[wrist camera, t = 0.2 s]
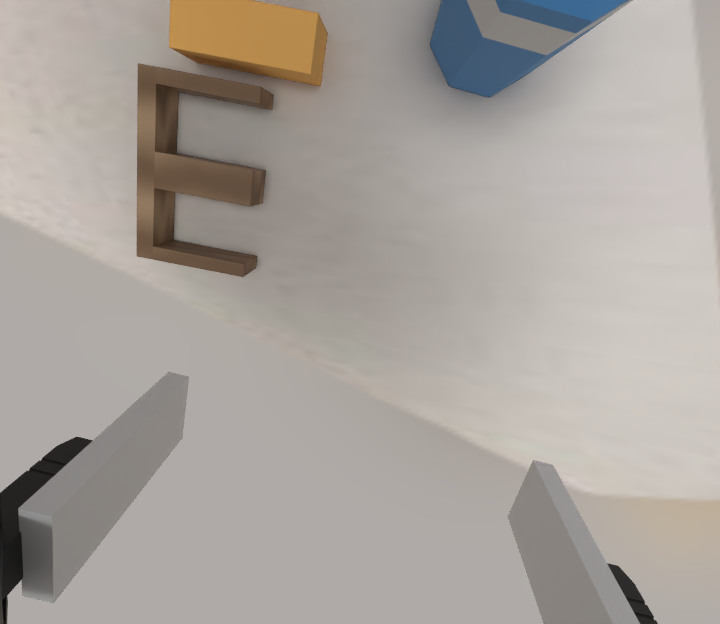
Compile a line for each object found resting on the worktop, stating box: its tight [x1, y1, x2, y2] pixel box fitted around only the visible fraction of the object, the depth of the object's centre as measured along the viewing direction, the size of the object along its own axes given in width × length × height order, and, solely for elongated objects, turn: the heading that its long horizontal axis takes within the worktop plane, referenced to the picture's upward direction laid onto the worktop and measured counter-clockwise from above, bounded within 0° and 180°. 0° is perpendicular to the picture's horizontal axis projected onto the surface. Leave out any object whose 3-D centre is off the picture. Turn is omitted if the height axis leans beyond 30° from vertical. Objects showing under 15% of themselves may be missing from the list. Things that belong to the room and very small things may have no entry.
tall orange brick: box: [169, 0, 328, 86], centre depth 34 cm, size 4×11×5 cm, turn 80°
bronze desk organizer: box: [137, 63, 274, 277], centre depth 38 cm, size 16×10×4 cm, turn 170°
